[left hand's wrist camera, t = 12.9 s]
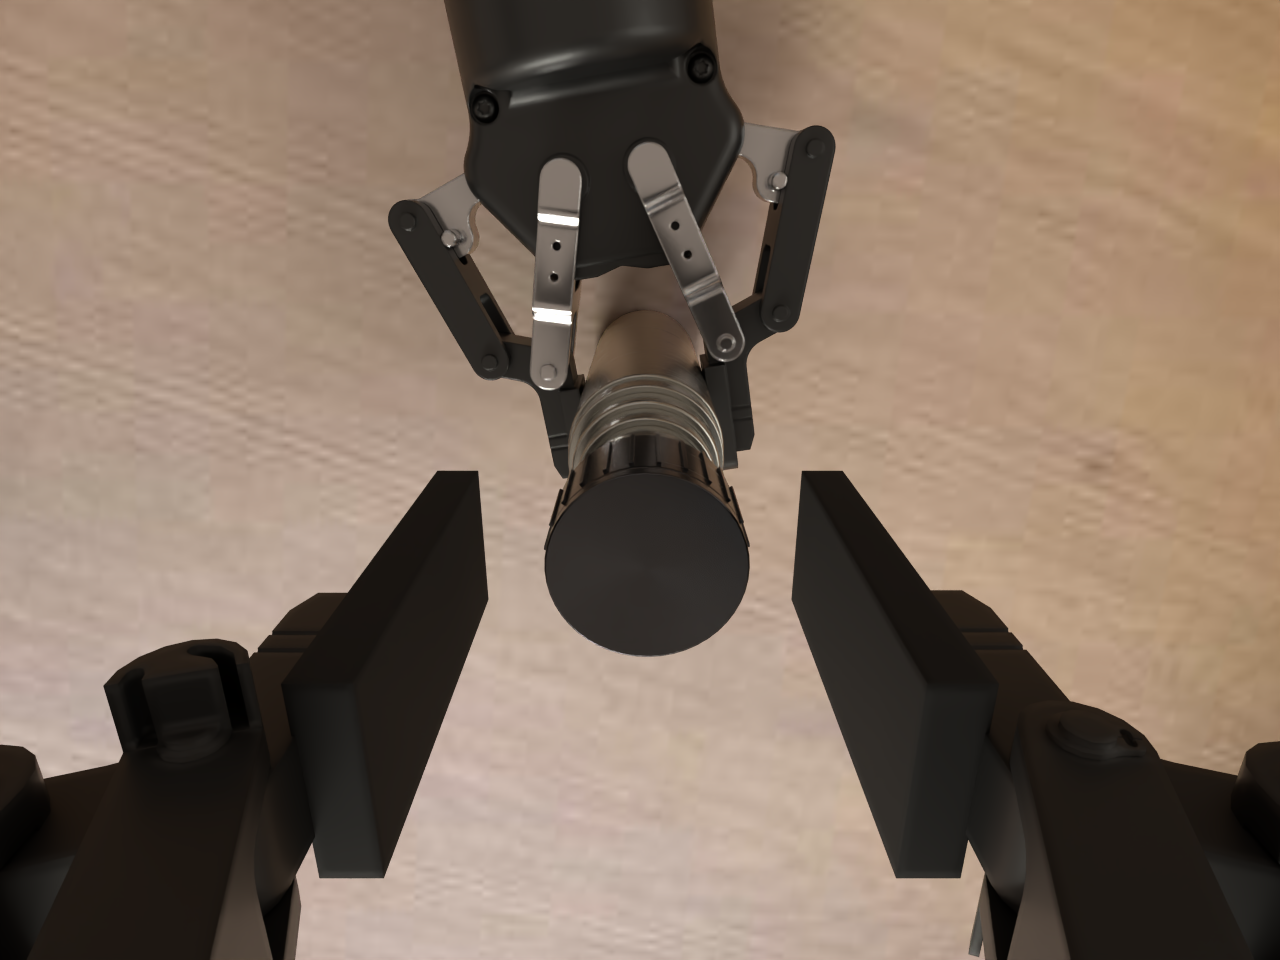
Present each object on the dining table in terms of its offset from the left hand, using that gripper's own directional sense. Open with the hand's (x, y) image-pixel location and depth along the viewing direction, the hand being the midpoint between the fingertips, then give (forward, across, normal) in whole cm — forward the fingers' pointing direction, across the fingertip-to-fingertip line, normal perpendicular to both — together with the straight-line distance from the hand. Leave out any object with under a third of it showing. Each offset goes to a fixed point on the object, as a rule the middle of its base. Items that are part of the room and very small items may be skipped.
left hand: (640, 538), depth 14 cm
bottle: (+18, 0, 0) cm, 18 cm away
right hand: (+12, +1, -3) cm, 12 cm away
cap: (-1, 0, 0) cm, 1 cm away
